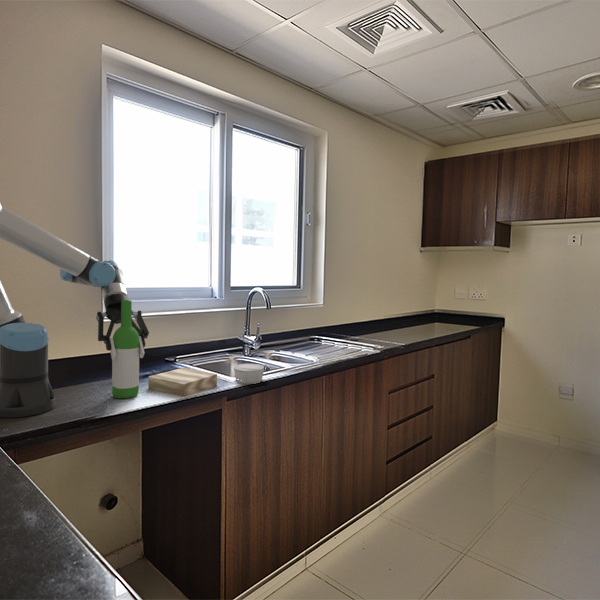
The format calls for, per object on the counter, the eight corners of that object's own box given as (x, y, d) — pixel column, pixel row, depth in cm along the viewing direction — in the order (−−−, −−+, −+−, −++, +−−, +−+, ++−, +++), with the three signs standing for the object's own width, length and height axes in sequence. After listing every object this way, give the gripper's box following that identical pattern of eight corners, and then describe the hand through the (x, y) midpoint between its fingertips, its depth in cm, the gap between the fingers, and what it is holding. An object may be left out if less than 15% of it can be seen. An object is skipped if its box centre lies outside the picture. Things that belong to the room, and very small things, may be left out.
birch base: (183, 396, 138) (184, 384, 137) (148, 388, 145) (148, 376, 145) (216, 385, 152) (217, 374, 151) (182, 378, 159) (183, 367, 159)
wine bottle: (130, 390, 142) (131, 299, 140) (143, 395, 137) (144, 301, 135) (107, 395, 136) (108, 300, 133) (120, 401, 131) (121, 302, 129)
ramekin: (237, 386, 152) (237, 371, 152) (230, 378, 163) (230, 364, 162) (267, 383, 157) (268, 369, 156) (259, 376, 167) (259, 362, 167)
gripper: (145, 306, 153) (159, 360, 141) (80, 307, 141) (90, 367, 129) (149, 292, 148) (164, 347, 136) (83, 292, 136) (94, 352, 124)
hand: (128, 356), depth 133 cm, fingers closed on wine bottle, 8 cm apart
